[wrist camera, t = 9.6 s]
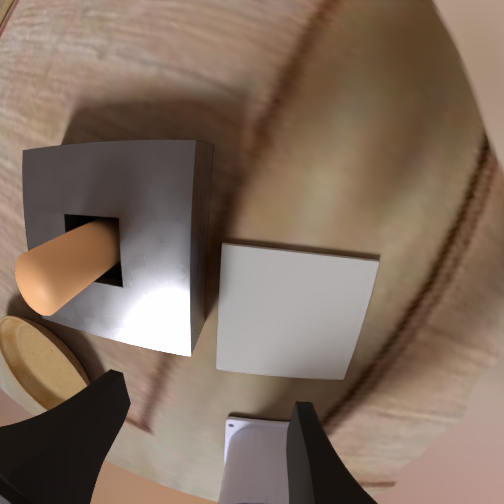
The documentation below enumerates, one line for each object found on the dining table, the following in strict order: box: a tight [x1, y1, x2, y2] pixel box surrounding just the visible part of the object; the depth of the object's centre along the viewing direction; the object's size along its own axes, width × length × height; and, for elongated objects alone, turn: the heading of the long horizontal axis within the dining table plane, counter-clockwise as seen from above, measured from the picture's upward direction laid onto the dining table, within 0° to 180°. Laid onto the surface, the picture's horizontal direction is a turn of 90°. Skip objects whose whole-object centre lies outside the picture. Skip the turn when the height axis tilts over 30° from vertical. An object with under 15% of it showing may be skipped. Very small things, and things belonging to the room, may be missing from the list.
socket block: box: [22, 140, 214, 356], centre depth 16 cm, size 12×12×4 cm
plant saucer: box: [0, 316, 90, 411], centre depth 23 cm, size 15×15×3 cm
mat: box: [216, 243, 379, 380], centre depth 19 cm, size 10×10×1 cm
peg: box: [15, 217, 121, 316], centre depth 14 cm, size 3×3×9 cm
